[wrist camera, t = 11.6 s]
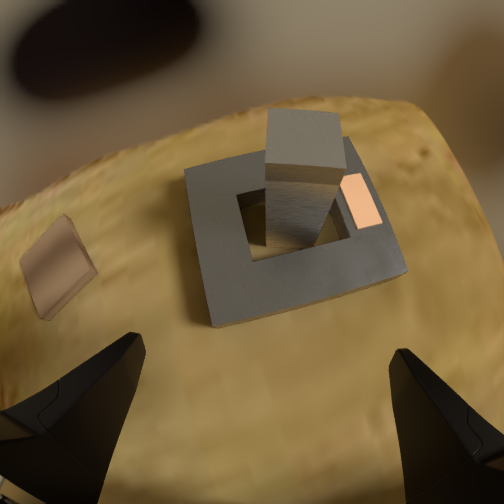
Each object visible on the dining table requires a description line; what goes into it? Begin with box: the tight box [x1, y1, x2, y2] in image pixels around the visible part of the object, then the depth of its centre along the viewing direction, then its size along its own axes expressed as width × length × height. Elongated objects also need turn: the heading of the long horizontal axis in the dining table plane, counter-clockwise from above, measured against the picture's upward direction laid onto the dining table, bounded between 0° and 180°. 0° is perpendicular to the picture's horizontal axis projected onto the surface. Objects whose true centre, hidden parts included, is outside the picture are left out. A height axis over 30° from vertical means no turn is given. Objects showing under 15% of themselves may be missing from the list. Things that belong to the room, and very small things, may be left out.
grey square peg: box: [265, 108, 347, 249], centre depth 19 cm, size 4×4×12 cm
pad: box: [20, 214, 98, 321], centre depth 24 cm, size 8×8×2 cm
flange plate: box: [184, 136, 408, 328], centre depth 24 cm, size 14×16×3 cm
